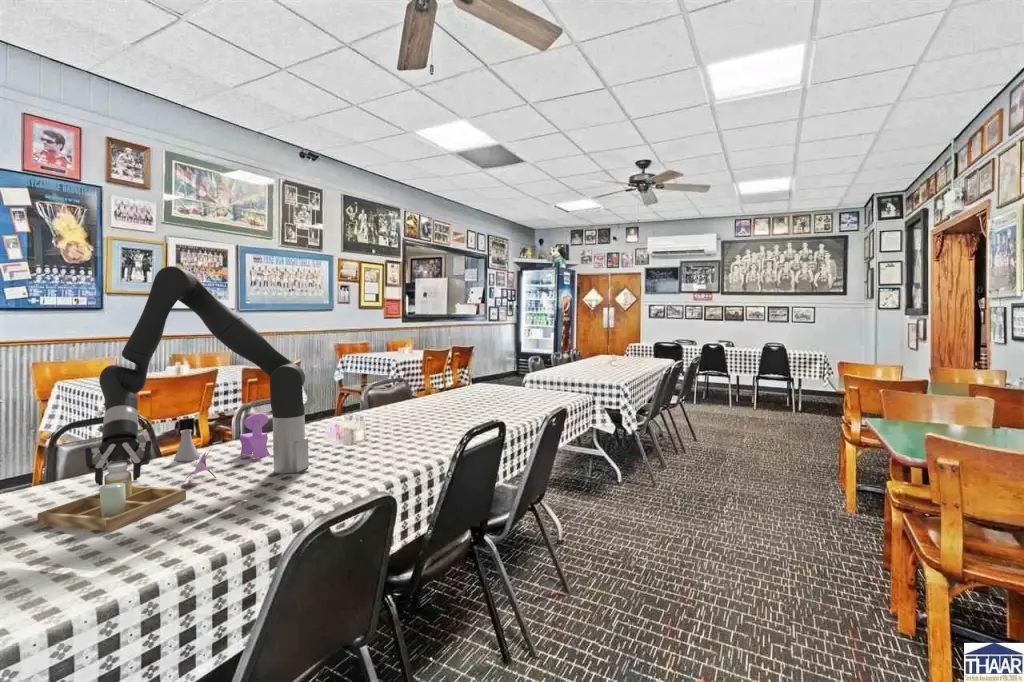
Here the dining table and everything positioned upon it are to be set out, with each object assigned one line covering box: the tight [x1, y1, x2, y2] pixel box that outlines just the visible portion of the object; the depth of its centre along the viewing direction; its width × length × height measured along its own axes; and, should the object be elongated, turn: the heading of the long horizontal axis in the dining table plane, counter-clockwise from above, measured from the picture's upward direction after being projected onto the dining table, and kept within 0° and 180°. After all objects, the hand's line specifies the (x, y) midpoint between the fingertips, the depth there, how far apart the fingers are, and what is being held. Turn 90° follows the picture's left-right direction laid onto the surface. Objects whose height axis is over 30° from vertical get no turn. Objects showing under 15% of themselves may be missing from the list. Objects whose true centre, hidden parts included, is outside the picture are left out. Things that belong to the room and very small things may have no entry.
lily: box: [182, 447, 217, 484], centre depth 146 cm, size 12×12×10 cm
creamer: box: [99, 483, 126, 518], centre depth 115 cm, size 5×5×8 cm
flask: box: [173, 429, 201, 462], centre depth 168 cm, size 7×7×10 cm
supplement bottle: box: [103, 461, 133, 496], centre depth 126 cm, size 5×5×10 cm
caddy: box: [37, 485, 187, 532], centre depth 121 cm, size 20×20×3 cm
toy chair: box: [239, 412, 271, 460], centre depth 173 cm, size 8×9×15 cm
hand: (118, 481), depth 125 cm, fingers open, 6 cm apart
